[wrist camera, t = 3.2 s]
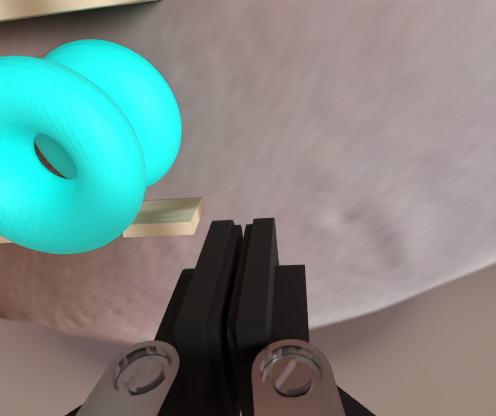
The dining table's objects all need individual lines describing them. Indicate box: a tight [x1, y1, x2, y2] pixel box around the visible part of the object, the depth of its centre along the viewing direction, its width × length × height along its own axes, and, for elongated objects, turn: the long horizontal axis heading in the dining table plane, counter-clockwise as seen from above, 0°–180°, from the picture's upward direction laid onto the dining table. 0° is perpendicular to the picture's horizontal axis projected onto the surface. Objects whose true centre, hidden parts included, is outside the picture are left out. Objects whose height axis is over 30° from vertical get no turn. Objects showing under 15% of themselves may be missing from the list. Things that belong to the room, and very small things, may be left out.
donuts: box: [0, 39, 181, 254], centre depth 22 cm, size 10×10×10 cm
